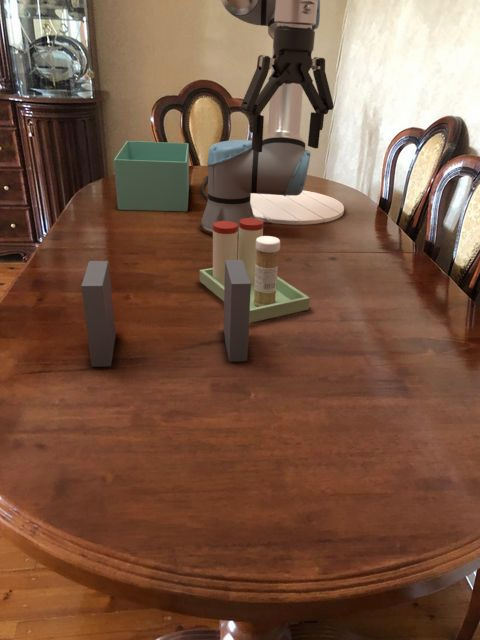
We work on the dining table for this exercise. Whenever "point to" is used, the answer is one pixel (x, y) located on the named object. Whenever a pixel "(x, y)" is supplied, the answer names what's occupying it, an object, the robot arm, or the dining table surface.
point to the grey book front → (99, 313)
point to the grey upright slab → (236, 310)
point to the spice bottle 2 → (249, 244)
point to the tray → (285, 304)
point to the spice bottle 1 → (223, 247)
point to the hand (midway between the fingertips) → (285, 149)
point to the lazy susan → (296, 208)
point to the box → (152, 176)
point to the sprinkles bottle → (266, 270)
